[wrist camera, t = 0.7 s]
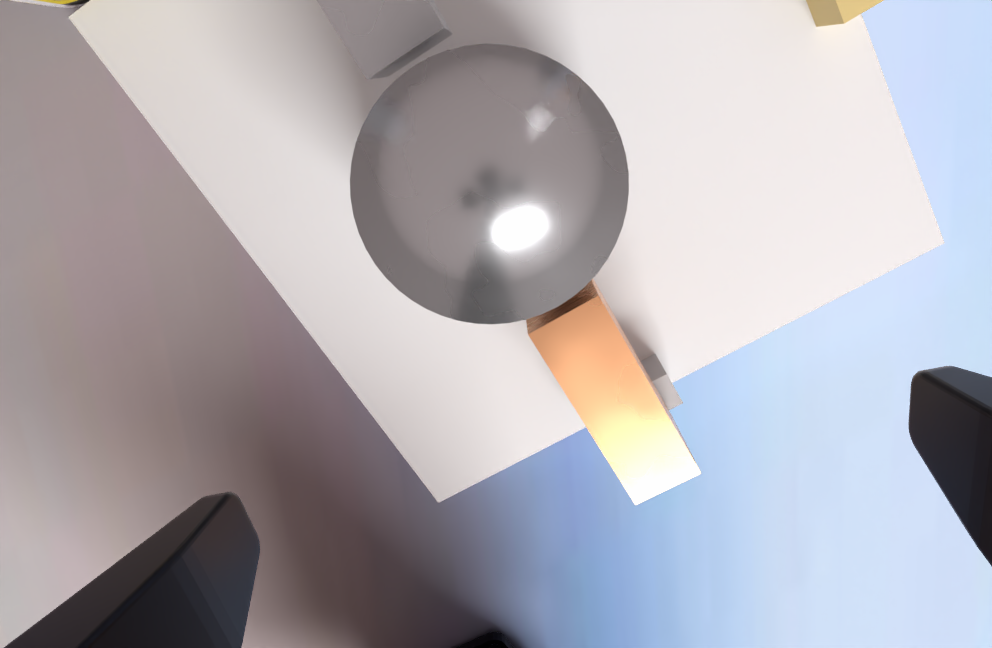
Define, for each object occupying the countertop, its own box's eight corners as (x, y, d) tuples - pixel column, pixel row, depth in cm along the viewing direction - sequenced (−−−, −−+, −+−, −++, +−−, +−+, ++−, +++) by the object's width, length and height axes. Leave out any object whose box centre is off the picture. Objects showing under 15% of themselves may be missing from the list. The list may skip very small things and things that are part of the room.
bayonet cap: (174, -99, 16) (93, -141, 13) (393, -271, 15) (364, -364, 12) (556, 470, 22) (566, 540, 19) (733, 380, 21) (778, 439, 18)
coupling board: (440, 483, 26) (434, 531, 23) (92, 20, 20) (31, 13, 17) (921, 234, 22) (979, 256, 19) (675, -425, 16) (710, -519, 13)
